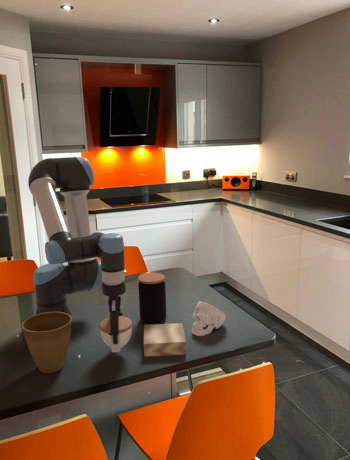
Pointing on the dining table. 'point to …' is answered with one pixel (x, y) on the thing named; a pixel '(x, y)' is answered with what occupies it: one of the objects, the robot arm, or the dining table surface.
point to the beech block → (164, 339)
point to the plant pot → (48, 339)
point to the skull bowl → (206, 319)
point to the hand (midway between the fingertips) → (116, 342)
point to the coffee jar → (152, 298)
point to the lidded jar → (124, 330)
